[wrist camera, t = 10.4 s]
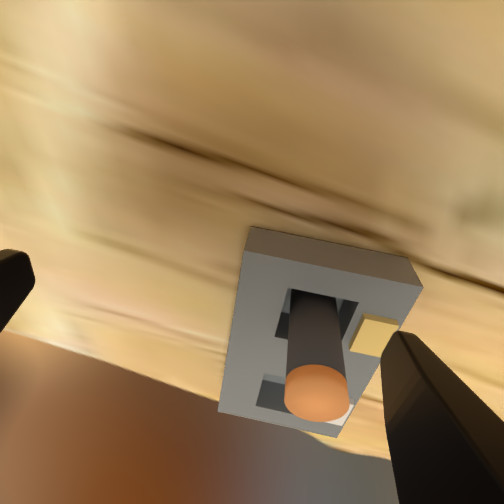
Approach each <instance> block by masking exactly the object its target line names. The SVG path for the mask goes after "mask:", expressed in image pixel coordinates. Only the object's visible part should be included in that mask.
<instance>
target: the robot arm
mask: <svg viewBox="0 0 504 504" xmlns="http://www.w3.org/2000/svg"><path fill="white" fill-rule="evenodd" d="M34 285H35V276H34V272H33V269H32V265H31V261H30V258H29V256H28V255H27V253H25V252H22V251H18V250H13V249H4V250H0V332H1V331H2V330H3V329H4V327H5V326H6V325H7V323H8V322H9V321H10V319H11V318H12V316H13V315H14V314H15V312H16V311H17V310H18V308H19V307H20V305H21V304H22V303H23V301H24V300H25V299H26V297H27V296H28V294H29V293H30V292H31V290H32V289H33V287H34ZM380 366H381V379H382V392H383V406H384V418H385V427H386V434H387V440H388V445H389V451H390V456H391V461H392V467H393V472H394V477H395V483H396V488H397V494H398V499H399V504H504V422H503V421H502V420H501V419H500V418H499V417H498V416H497V415H496V414H495V413H494V412H493V411H492V410H491V409H490V408H489V407H488V406H487V405H486V404H485V403H484V402H483V401H482V400H481V399H480V398H479V397H478V396H477V395H476V394H475V393H474V392H473V391H472V390H471V389H470V388H469V387H468V386H467V385H466V384H465V383H464V382H463V381H462V380H461V379H460V378H459V377H458V376H457V375H456V374H455V373H454V372H453V371H452V370H451V369H450V368H449V367H448V366H447V365H446V364H445V363H444V362H443V361H442V360H441V359H440V358H439V357H438V356H437V355H436V354H435V353H434V352H433V351H432V350H431V349H429V348H428V347H427V346H426V345H425V344H424V343H423V342H422V341H421V340H420V339H419V338H418V337H417V336H416V335H415V334H412V333H408V332H404V331H395V332H394V333H393V334H392V336H391V338H390V340H389V341H388V343H387V345H386V347H385V348H384V350H383V352H382V354H381V359H380Z"/></svg>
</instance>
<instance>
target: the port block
mask: <svg viewBox="0 0 504 504" xmlns="http://www.w3.org/2000/svg"><path fill="white" fill-rule="evenodd" d="M292 289H297V290H302V291H307V292H312V293H316V294H321V295H326V296H331V297H336V303H337V311H338V318H339V326H340V334H341V341H342V349H343V357H344V365H345V372H346V380H347V388H348V395H349V403H350V406H349V410H348V411H347V413H346V414H345V415H344V416H342V417H340V418H339V419H336V420H333V421H328V422H314V421H308V420H304V419H302V418H299V417H297V416H295V415H294V414H292V413H291V412H290V411H289V410H288V409H287V407H286V405H285V402H284V397H285V380H286V364H287V347H288V331H289V314H290V298H291V290H292ZM422 289H423V285H422V284H421V282H420V280H419V278H418V276H417V274H416V272H415V271H414V269H413V267H412V265H411V263H410V261H409V259H408V258H406V257H401V256H396V255H391V254H386V253H381V252H376V251H371V250H366V249H361V248H356V247H351V246H346V245H341V244H336V243H331V242H326V241H321V240H316V239H311V238H306V237H301V236H296V235H291V234H286V233H281V232H276V231H271V230H266V229H261V228H256V227H251V229H250V232H249V236H248V239H247V242H246V245H245V248H244V253H243V259H242V265H241V271H240V277H239V283H238V289H237V296H236V302H235V308H234V314H233V320H232V326H231V333H230V339H229V345H228V351H227V357H226V363H225V369H224V376H223V382H222V388H221V394H220V400H219V406H218V412H223V413H228V414H232V415H237V416H241V417H246V418H250V419H255V420H259V421H263V422H267V423H272V424H276V425H281V426H286V427H290V428H294V429H299V430H303V431H308V432H312V433H317V434H321V435H325V436H330V437H334V438H337V437H338V435H339V433H340V431H341V430H342V428H343V426H344V424H345V423H346V421H347V419H348V418H349V416H350V414H351V412H352V411H353V409H354V407H355V405H356V404H357V402H358V400H359V398H360V397H361V395H362V393H363V391H364V390H365V388H366V386H367V385H368V383H369V381H370V379H371V378H372V376H373V374H374V372H375V371H376V369H377V367H378V365H379V364H380V359H381V354H382V352H383V350H384V348H385V347H386V345H387V343H388V341H389V340H390V338H391V336H392V334H393V333H394V332H395V331H399V329H400V327H401V326H402V324H403V322H404V320H405V319H406V317H407V315H408V313H409V312H410V310H411V308H412V306H413V305H414V303H415V301H416V299H417V298H418V296H419V294H420V293H421V291H422Z"/></svg>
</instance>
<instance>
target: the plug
mask: <svg viewBox="0 0 504 504" xmlns="http://www.w3.org/2000/svg"><path fill="white" fill-rule="evenodd" d="M284 402H285V405H286V407H287V409H288V410H289V411H290V412H291V413H292V414H294V415H295V416H297V417H299V418H302V419H304V420H308V421H314V422H328V421H333V420H336V419H339V418H340V417H342V416H344V415H345V414H346V413H347V411H348V410H349V406H350V403H349V395H348V388H347V380H346V372H345V365H344V357H343V349H342V341H341V334H340V326H339V318H338V311H337V303H336V297H331V296H326V295H321V294H316V293H312V292H307V291H302V290H297V289H292V290H291V298H290V314H289V331H288V347H287V364H286V380H285V397H284Z"/></svg>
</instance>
